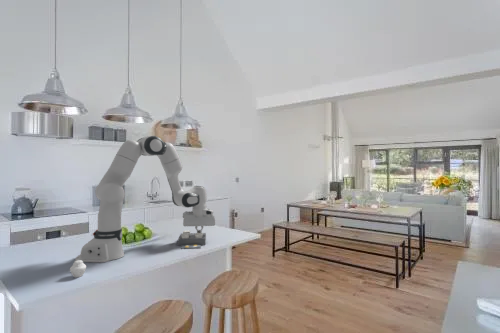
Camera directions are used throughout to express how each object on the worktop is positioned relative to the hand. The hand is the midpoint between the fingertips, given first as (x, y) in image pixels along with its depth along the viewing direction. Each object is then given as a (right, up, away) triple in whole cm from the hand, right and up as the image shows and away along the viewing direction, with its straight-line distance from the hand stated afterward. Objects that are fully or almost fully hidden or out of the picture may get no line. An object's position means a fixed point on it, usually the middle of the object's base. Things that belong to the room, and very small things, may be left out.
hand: (199, 233), depth 184 cm
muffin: (-42, -5, -59) cm, 73 cm away
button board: (-3, -5, -4) cm, 7 cm away
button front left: (-7, -2, -8) cm, 11 cm away
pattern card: (-2, -5, -15) cm, 16 cm away
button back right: (0, -3, 0) cm, 3 cm away
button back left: (-8, -2, -1) cm, 8 cm away
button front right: (+1, -2, -7) cm, 7 cm away
